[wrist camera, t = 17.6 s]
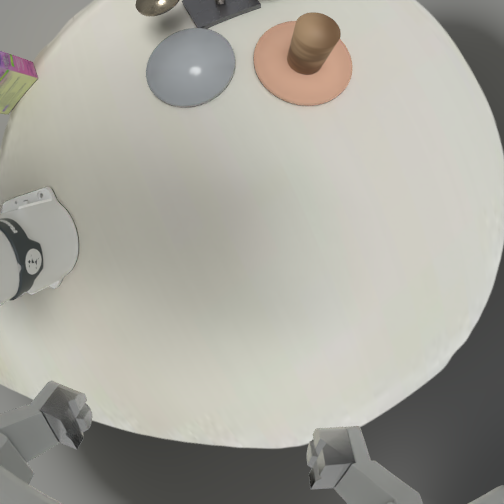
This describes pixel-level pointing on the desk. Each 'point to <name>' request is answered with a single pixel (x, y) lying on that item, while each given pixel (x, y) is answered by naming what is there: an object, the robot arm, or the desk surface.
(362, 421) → the desk surface
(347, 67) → the dish
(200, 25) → the balance
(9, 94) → the box
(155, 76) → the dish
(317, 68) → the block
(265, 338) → the desk surface
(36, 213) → the robot arm
